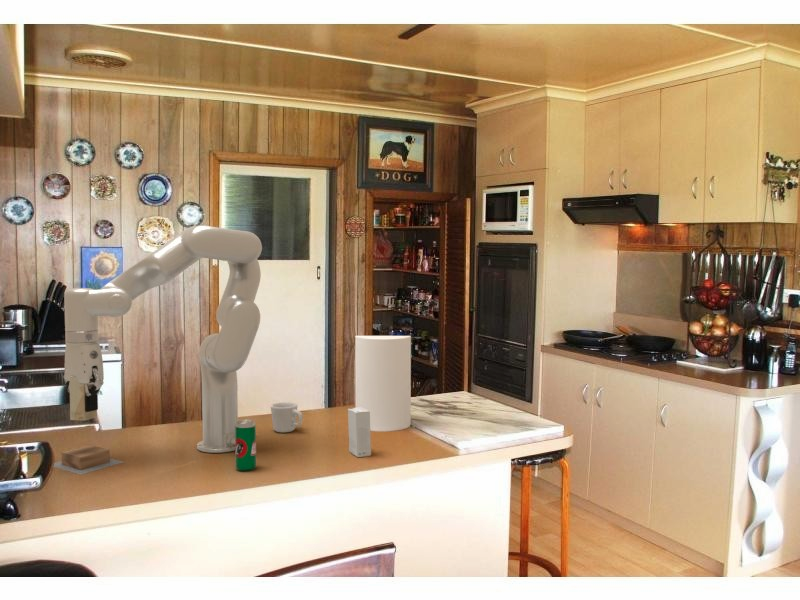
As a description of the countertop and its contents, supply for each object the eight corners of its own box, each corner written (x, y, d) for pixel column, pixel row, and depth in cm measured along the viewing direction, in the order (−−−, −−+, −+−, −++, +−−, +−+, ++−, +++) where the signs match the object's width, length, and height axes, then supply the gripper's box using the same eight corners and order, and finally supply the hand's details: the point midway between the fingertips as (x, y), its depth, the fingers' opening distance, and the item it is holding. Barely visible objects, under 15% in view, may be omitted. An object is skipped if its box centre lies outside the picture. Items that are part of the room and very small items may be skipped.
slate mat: (124, 465, 179) (124, 462, 179) (80, 477, 169) (80, 474, 169) (91, 456, 187) (91, 453, 187) (47, 467, 177) (47, 464, 177)
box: (84, 421, 174) (83, 376, 173) (69, 420, 175) (68, 376, 174) (98, 416, 179) (97, 373, 178) (83, 415, 180) (81, 372, 179)
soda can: (256, 471, 174) (255, 423, 174) (235, 472, 173) (234, 424, 173) (256, 465, 179) (255, 418, 179) (235, 466, 178) (235, 419, 177)
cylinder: (410, 431, 213) (410, 339, 211) (353, 431, 213) (353, 339, 211) (410, 417, 230) (410, 332, 228) (357, 417, 230) (357, 332, 228)
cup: (310, 431, 213) (310, 405, 213) (292, 436, 206) (292, 410, 206) (283, 426, 219) (283, 400, 218) (265, 431, 212) (265, 405, 212)
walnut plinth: (109, 462, 179) (109, 449, 179) (80, 470, 172) (80, 457, 172) (91, 456, 184) (90, 444, 183) (61, 464, 177) (61, 452, 177)
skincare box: (371, 455, 188) (371, 411, 187) (356, 458, 186) (356, 412, 185) (362, 450, 193) (362, 406, 192) (347, 452, 191) (347, 407, 190)
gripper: (116, 338, 174) (118, 410, 175) (75, 333, 184) (77, 402, 185) (88, 341, 168) (90, 416, 169) (48, 336, 177) (50, 407, 179)
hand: (83, 408), depth 177 cm, fingers closed on box, 5 cm apart
